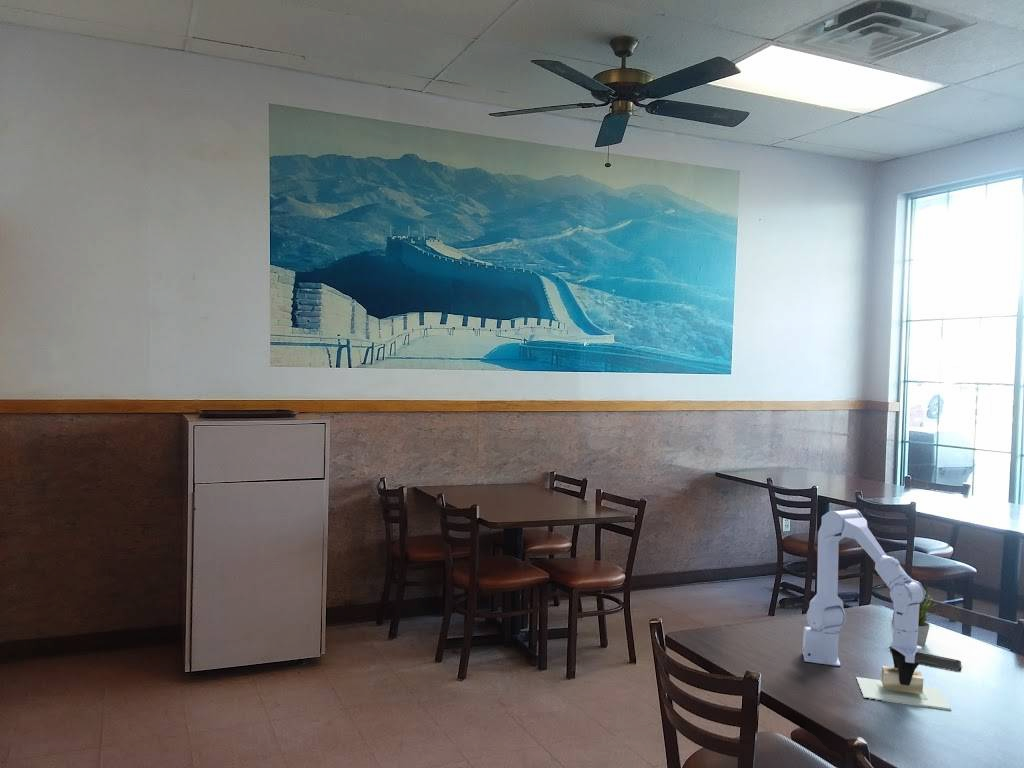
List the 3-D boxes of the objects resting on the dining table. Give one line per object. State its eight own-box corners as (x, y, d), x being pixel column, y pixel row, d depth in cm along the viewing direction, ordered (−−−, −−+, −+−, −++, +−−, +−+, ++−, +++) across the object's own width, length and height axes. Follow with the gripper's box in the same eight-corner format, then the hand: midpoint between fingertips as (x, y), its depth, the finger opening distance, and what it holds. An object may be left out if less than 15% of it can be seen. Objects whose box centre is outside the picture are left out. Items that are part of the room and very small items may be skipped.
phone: (903, 649, 238) (961, 660, 231) (903, 653, 238) (960, 664, 231) (901, 657, 231) (960, 669, 224) (901, 661, 231) (960, 673, 224)
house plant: (894, 629, 258) (897, 579, 257) (943, 640, 250) (946, 588, 249) (885, 642, 246) (888, 589, 245) (935, 653, 238) (939, 598, 237)
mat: (863, 698, 204) (863, 696, 204) (856, 678, 216) (856, 676, 216) (951, 710, 199) (951, 708, 199) (938, 689, 211) (938, 687, 211)
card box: (922, 694, 204) (923, 678, 204) (883, 688, 207) (884, 672, 206) (919, 686, 209) (920, 670, 208) (881, 680, 211) (882, 665, 211)
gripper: (929, 639, 199) (925, 693, 199) (916, 621, 213) (913, 671, 213) (898, 636, 201) (895, 689, 201) (887, 618, 215) (884, 668, 215)
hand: (902, 680), depth 207 cm, fingers closed on card box, 5 cm apart
